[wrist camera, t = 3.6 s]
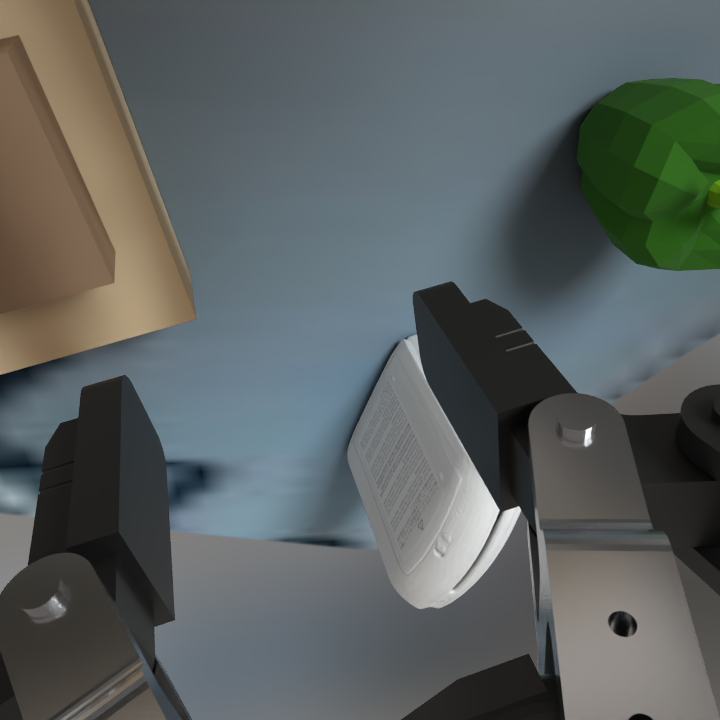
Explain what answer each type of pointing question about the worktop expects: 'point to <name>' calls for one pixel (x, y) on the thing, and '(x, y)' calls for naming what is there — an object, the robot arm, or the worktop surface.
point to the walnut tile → (42, 198)
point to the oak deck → (96, 196)
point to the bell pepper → (656, 171)
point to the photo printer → (423, 489)
